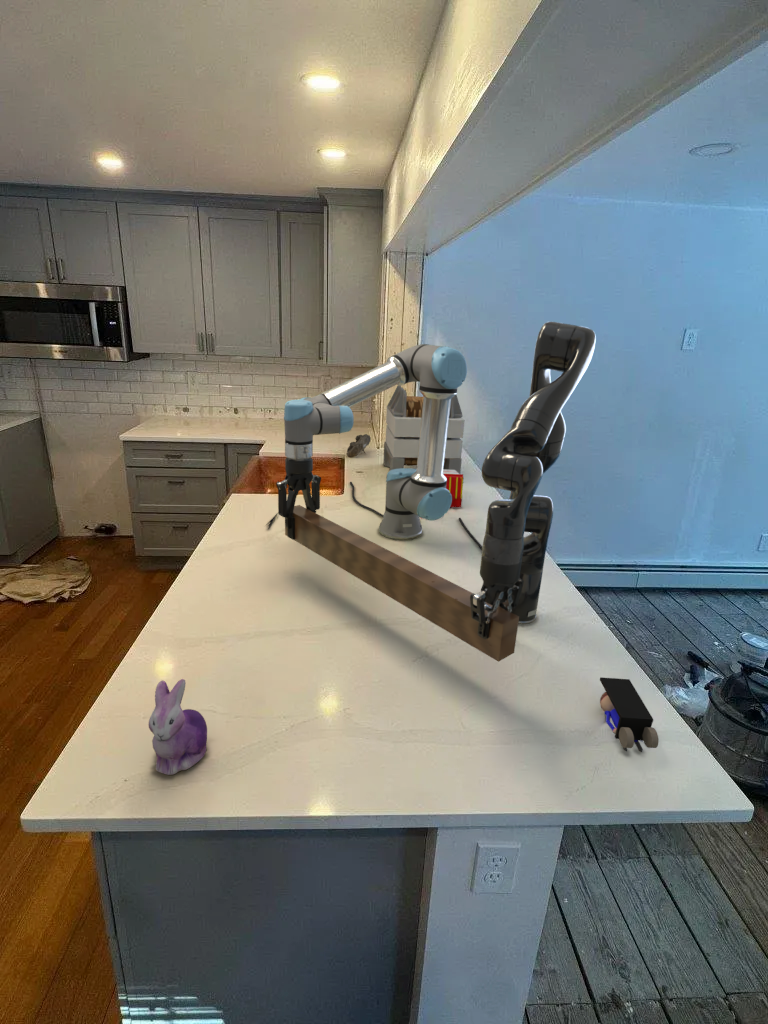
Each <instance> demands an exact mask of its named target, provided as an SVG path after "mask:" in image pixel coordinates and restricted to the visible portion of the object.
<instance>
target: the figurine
mask: <svg viewBox="0 0 768 1024" xmlns="http://www.w3.org/2000/svg"><path fill="white" fill-rule="evenodd" d="M186 683H187V682H186V680H185V679H184V678H180V679H179V680H177V682H176V683H175V684H174V686H173V687H172V689H171V690H170V689H169V685H168V684H167V682H166V681H165V680H162V679H161V680H160V681H159V682H158V683H157V684H156V688H155V691H154V704H155V706H154V708H153V710H152V712H151V715H150V717H149V720H148V729H149V730H150V732H151V733H152V734H153V737H152V740H151V741H152V748H153V750H154V752H155V755H156V763H155V770H156V771H157V772H158V773H161V774H163V775H164V774H165V775H169V776H171V775H175V774H177V773H178V772H180V771H186V770H188V769H190V768H192V767H193V766H195V765H196V764H197V763H198V762H200V760H202V759H203V758H204V757H205V755H206V752H207V741H208V725H207V722H206V719H205V718H204V716H203V714H202V713H201V712H199V711H198V710H196V709H192V708H187V709H183V708H182V705H181V704H182V700H183V697H184V694H185V690H186Z"/></svg>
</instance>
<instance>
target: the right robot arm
mask: <svg viewBox="0 0 768 1024" xmlns="http://www.w3.org/2000/svg"><path fill="white" fill-rule="evenodd" d="M596 335H597V334H596V332H595V330H593V329H592V328H589V327H587V326H583V325H576V324H571V323H565V322H558V321H546V322H545V323H543V325H542V326H541V327H540V330H539V332H538V334H537V338H536V342H535V346H534V353H533V360H532V371H531V381H530V390H529V395H528V396H529V397H527V398H526V399H525V401H524V402H523V403H522V404H521V406H520V408H519V409H518V412H517V413H516V416H515V417H514V420H513V422H512V424H511V426H510V429H509V430H508V431H507V432H506V433H505V434H504V435H503V436H502V438H500V440H499V441H498V442H497V443H496V444H495V445H494V446H493V447H492V448H491V449H490V450H489V452H488V453H487V454H486V455H485V458H484V460H483V462H482V466H481V478H482V481H483V482H484V484H485V485H486V486H488V487H491V488H494V489H498V490H503V491H508V492H510V494H509V498H508V499H496V500H494V501H492V502H491V503H489V506H488V508H487V516H486V525H485V526H486V527H485V533H484V537H483V542H482V544H481V543H480V542H479V540H477V538H476V537H475V536H474V535H473V534H472V532H471V531H470V529H468V527H467V526H466V525H465V523H464V521H463V519H462V518H461V517H458V521H459V523H460V525H461V526H462V528H463V529H464V531H465V532H466V534H468V536H469V537H470V538H471V539H472V541H473V542H474V543H475V544H476V546H477V547H478V548H479V549H480V550H481V558H480V566H479V576H480V578H481V579H482V586H481V588H480V591H479V592H478V593H474V592H472V594H471V595H470V605H471V618H472V619H474V620H476V621H477V622H479V624H478V635H479V636H480V637H481V638H483V639H488V638H489V632H490V624H491V623H490V621H491V619H492V616H493V613H496V611H497V608H498V606H499V607H501V608H503V609H505V610H507V611H509V612H511V613H513V614H515V615H517V616H519V622H518V625H523V626H524V625H531V624H533V623H534V622H535V621H536V620H537V611H538V605H539V599H540V593H541V584H542V579H543V573H544V566H545V559H546V553H547V549H548V548H547V547H548V541H549V536H550V532H551V529H552V528H551V527H552V523H553V518H554V503H553V500H552V498H551V497H549V496H546V495H537V494H535V493H536V492H537V490H538V488H539V485H540V484H541V481H542V477H543V475H544V474H545V473H546V472H547V471H548V470H550V469H551V467H552V466H553V465H554V464H556V462H557V461H558V459H559V458H560V456H561V455H562V454H561V453H562V450H563V445H564V441H565V437H566V432H567V425H566V421H565V418H564V416H563V413H562V409H563V408H564V406H565V404H566V403H567V401H569V399H570V397H571V395H572V394H573V392H574V391H575V389H576V387H577V385H578V384H579V382H580V381H581V380H582V377H583V376H584V374H585V373H586V371H587V370H588V367H589V365H590V363H591V361H592V359H593V355H594V351H595V348H596V341H597V336H596ZM551 371H556V372H560V373H561V374H560V375H558V377H556V378H555V379H554V380H551V379H552V378H551V377H552V376H551ZM525 533H530V534H529V535H527V536H525ZM486 602H487V603H488V604H490V605H492V607H490V606H488V605H486ZM485 610H487V611H488V614H487V616H485ZM477 613H478V614H477Z"/></svg>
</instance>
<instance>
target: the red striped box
mask: <svg viewBox="0 0 768 1024" xmlns="http://www.w3.org/2000/svg"><path fill="white" fill-rule="evenodd" d="M443 474H444V476H445V477H446V478H447V484H446V489H447V490H449V492H450V493H451V495H452V503H451V506H450V508H462V502H463V501H462V500H463V490H464V474H463V473H461V474H459V473H458V472H457V471H456V470H447V469H443Z"/></svg>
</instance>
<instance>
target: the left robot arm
mask: <svg viewBox="0 0 768 1024" xmlns="http://www.w3.org/2000/svg"><path fill="white" fill-rule="evenodd" d="M467 375H468V363H467V360H466V357H465V355H463V353H462V352H461V351H460V350H459V349H457V348H453V347H450V346H446V345H435V344H426V343H421V344H420V343H419V344H416V345H413V346H411V347H408V348H406V349H404V350H402V351H399V352H397V353H395V354H393V355H390V356H389V357H388V358H387V360H386V362H384V363H382V364H380V365H378V366H376V367H374V368H372V369H369V370H368V371H365V372H364V373H362V374H359V375H356V376H355V377H353V378H351V379H349V380H346V381H345V382H343V383H340V384H338V385H336V386H334V387H333V388H330V389H328V390H326V391H324V392H322V393H319V394H317V395H315V396H313V397H308V396H307V397H301V398H299V399H290V400H288V401H286V402H285V404H284V409H283V410H284V412H283V420H284V421H283V422H284V457H286V458H285V459H284V462H285V465H284V466H285V468H284V469H285V477H284V480H282V481H277V482H276V483H275V485H276V488H277V505H278V506H277V507H278V509H277V513H278V514H277V515H279V516H281V517H282V518H284V528H285V527H286V528H287V530H288V536H287V538H289V539H291V540H293V541H295V540H294V539H295V518H294V517H292V515H293V510H294V506H296V501H297V496H298V495H299V492H300V491H301V493H302V496H303V501H304V504H305V508H306V509H308V510H310V511H312V512H314V513H316V514H317V510H318V511H319V510H320V509H321V493H320V492H321V481H322V476H320V475H318V474H313V470H314V459H313V454H314V453H313V450H314V448H313V445H314V443H313V442H314V438H313V437H314V436H320V435H332V434H339V435H340V434H344V433H348V432H350V431H352V429H353V427H354V424H355V423H354V418H355V417H354V413H353V411H352V409H351V408H352V407H354V406H356V405H359V404H360V403H362V402H365V401H367V400H368V399H371V398H372V397H374V396H377V395H378V394H380V393H383V392H384V391H387V390H389V389H391V388H392V387H396V386H398V385H399V386H401V387H402V386H404V385H406V384H409V383H416V382H417V383H419V389H418V391H419V392H420V394H421V396H422V397H423V408H422V418H421V428H420V439H419V449H418V459H417V466H416V468H412V467H404V468H400V469H393V470H390V469H389V470H388V472H387V474H386V479H385V483H386V484H385V504H384V505H385V507H384V508H385V509H384V513H383V514H382V513H381V512H379V511H378V510H375V509H374V508H372V507H369V506H367V505H364V504H362V503H361V502H359V501H358V500H357V499H356V497H355V485H354V484H353V482H352V481H350V482H349V484H350V486H351V498H352V500H353V501H354V502H355V503H356V504H357V505H358V506H360V507H362V508H364V509H366V510H369V511H371V512H373V513H374V514H376V515H378V516H379V517H381V518H382V519H381V522H379V526H378V533H379V534H380V535H381V536H382V537H385V538H387V539H389V540H395V541H410V540H415V539H418V538H420V537H421V536H422V535H423V525H422V524H421V519H423V520H426V521H429V522H430V521H431V522H433V521H438V520H440V519H441V518H444V516H445V515H446V514H447V513H448V512H449V510H450V508H451V507H450V506H451V503H452V495H451V493H450V492H449V490H447V489H446V484H447V478H446V477H445V476H444V474H443V468H444V459H445V450H446V441H447V432H448V423H449V414H450V405H451V399H452V397H453V396H455V395H457V394H458V388H459V387H461V386H462V385H463V382H465V381H466V378H467ZM310 485H311V486H310ZM287 486H288V487H287Z"/></svg>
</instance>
